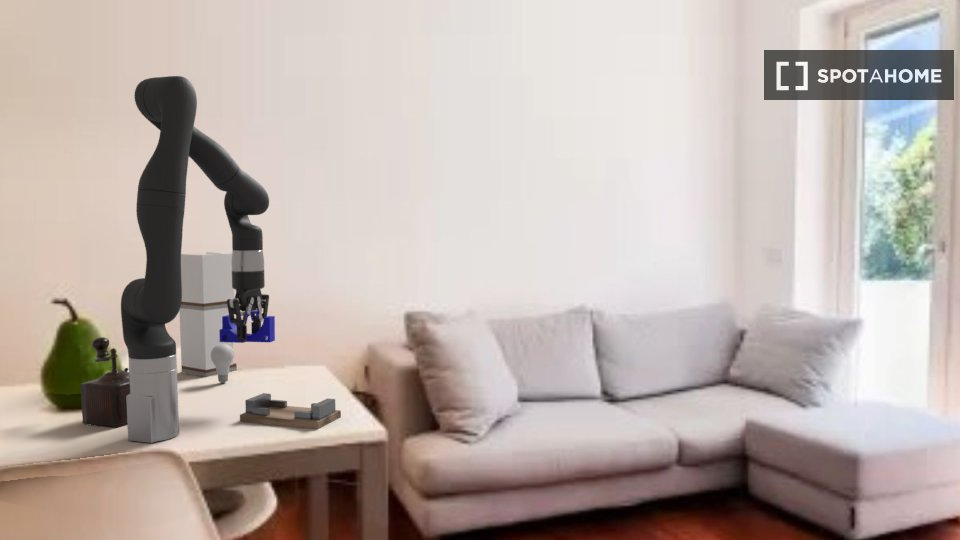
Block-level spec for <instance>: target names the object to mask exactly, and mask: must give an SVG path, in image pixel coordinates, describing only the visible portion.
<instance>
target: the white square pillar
mask: <svg viewBox="0 0 960 540" xmlns="http://www.w3.org/2000/svg"><path fill="white" fill-rule="evenodd" d="M181 280H182V302H181V307H180V310H179V332H180V333H179V334H180V360H181V361H180V362H181V373H182V374H187V375H188V374H189V375H193V376H199V377H204V378H209V377H213V376H218V374H217V370H216V367H215V365H214V363H213V361H212V360H211V351H212V349H213V348H214V347H215V346H216V345H219V344H227V345H229V346H230V347H231V348H232V349H233V350H234V347H233V345H234V342H220V331H219V330H220V329H222V316H226V315H229V312H228V306H227V300H228V299H234V298H235V289H233V288H232V252H212V251H211V252H208V251H207V252H205V254H193V253H181ZM237 366H238V365H237V363H235V362H234V359H233V360H232V362H231V364H230V367H229V373H231V372H235V371H237V370H238V369H237Z"/></svg>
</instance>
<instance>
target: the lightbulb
mask: <svg viewBox="0 0 960 540" xmlns="http://www.w3.org/2000/svg"><path fill="white" fill-rule="evenodd" d="M234 357H235V351H234V348H233V349H232V348H231V347H230V346H229V345H227V344H219V345H216V346H215V347H214V348H213V349H212V351H211V360H212V361H213V363H214V365H215V367H216V370H217V374H218V375H217V380H218V382H219V383H221V384H226V382H228V381H229V374H230V372H229V367H230V364H231V362H232V360H233V361H234Z"/></svg>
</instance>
